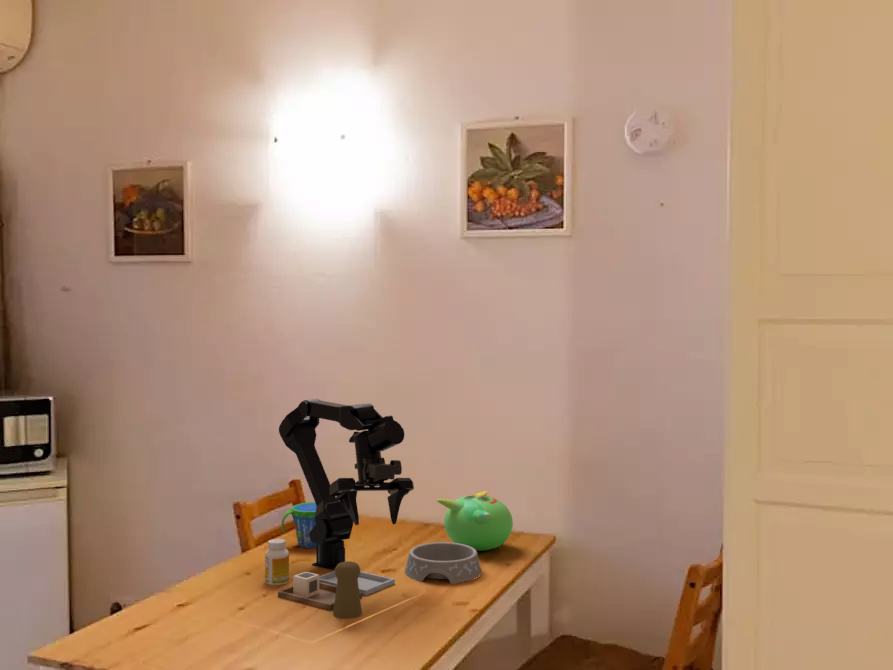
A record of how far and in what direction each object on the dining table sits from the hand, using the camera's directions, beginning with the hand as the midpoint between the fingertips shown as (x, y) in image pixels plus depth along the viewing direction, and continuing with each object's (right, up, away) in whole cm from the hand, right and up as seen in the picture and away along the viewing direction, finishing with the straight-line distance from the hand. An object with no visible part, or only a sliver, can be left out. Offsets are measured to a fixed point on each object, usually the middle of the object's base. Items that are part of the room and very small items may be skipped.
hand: (375, 524), depth 215 cm
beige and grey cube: (-15, -14, -4) cm, 21 cm away
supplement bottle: (-23, -14, +5) cm, 28 cm away
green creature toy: (+24, -13, +34) cm, 43 cm away
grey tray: (-5, -14, +4) cm, 16 cm away
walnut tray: (-12, -15, -6) cm, 20 cm away
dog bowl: (+15, -15, +14) cm, 25 cm away
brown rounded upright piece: (-5, -16, -16) cm, 23 cm away
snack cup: (-19, -13, +36) cm, 43 cm away
